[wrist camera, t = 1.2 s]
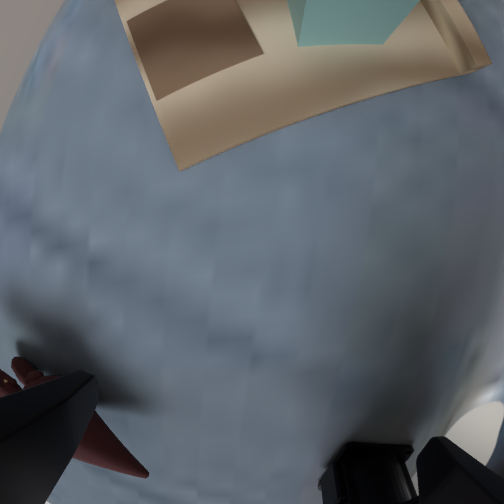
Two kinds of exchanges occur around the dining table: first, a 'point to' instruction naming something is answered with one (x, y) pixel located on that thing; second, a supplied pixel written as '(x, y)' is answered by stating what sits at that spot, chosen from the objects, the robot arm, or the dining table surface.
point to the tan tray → (276, 66)
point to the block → (347, 20)
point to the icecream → (95, 436)
